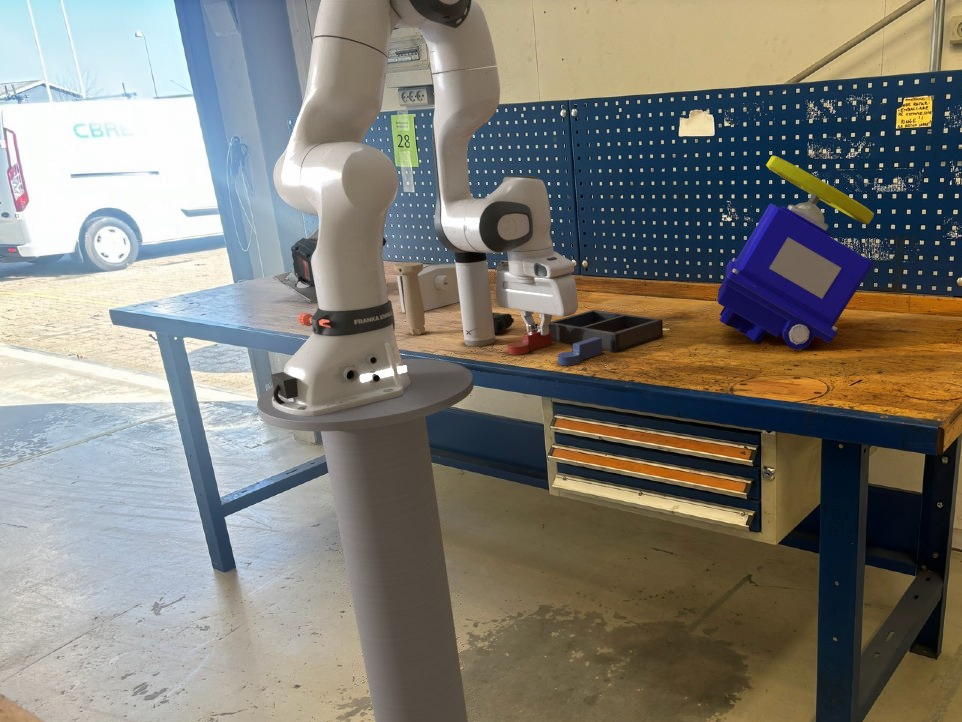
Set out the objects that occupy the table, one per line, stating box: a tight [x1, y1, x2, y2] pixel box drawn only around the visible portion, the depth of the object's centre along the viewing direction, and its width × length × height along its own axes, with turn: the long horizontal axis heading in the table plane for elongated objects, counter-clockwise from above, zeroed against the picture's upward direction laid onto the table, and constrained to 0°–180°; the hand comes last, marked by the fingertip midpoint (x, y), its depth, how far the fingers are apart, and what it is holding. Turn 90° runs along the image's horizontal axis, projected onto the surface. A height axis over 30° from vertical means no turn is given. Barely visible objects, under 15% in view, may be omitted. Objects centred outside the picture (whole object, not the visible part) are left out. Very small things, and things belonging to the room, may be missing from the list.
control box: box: [717, 155, 875, 351], centre depth 162 cm, size 26×27×30 cm
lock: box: [396, 263, 460, 314], centre depth 211 cm, size 19×9×10 cm, turn 143°
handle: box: [393, 261, 426, 336], centre depth 183 cm, size 5×6×15 cm
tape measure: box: [492, 312, 515, 334], centre depth 182 cm, size 7×7×4 cm
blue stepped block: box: [557, 337, 603, 367], centre depth 157 cm, size 10×4×3 cm, turn 137°
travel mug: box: [453, 252, 496, 347], centre depth 171 cm, size 6×7×20 cm
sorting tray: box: [549, 309, 664, 353], centre depth 171 cm, size 14×19×4 cm
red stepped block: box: [507, 329, 552, 356], centre depth 167 cm, size 10×4×3 cm, turn 137°
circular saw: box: [272, 227, 387, 303], centre depth 233 cm, size 21×36×25 cm
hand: (538, 333), depth 168 cm, fingers closed on red stepped block, 2 cm apart
